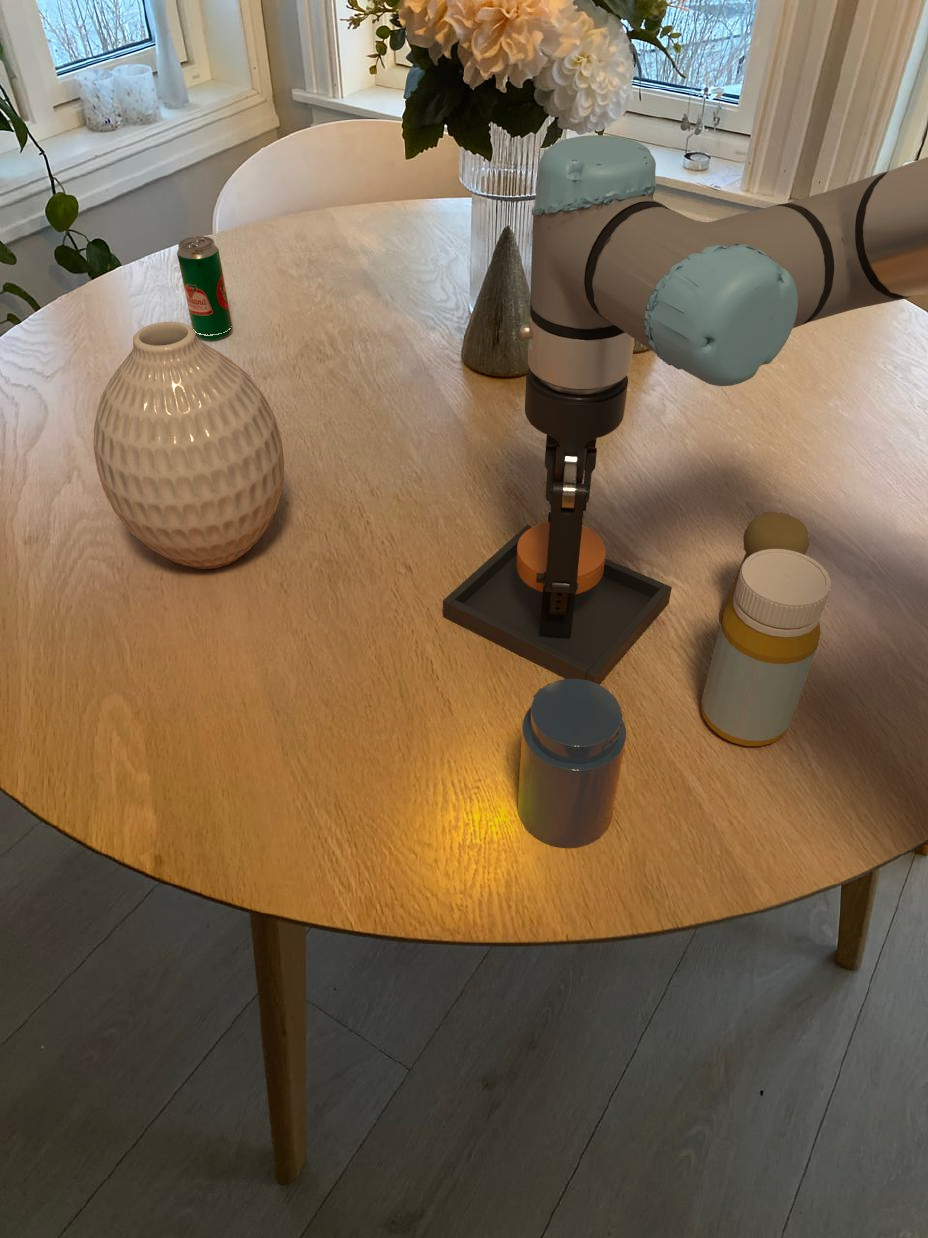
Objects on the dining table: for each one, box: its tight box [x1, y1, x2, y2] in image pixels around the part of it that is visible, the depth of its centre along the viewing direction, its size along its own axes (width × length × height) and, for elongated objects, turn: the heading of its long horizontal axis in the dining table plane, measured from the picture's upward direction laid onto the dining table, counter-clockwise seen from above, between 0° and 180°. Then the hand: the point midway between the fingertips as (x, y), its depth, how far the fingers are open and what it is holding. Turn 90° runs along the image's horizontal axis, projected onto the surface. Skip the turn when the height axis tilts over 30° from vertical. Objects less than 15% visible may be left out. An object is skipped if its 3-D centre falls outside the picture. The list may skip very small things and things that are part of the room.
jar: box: [517, 678, 627, 849], centre depth 67 cm, size 7×7×11 cm
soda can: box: [176, 235, 233, 342], centre depth 122 cm, size 5×5×12 cm
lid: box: [517, 521, 607, 594], centre depth 83 cm, size 8×8×2 cm
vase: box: [93, 321, 285, 570], centre depth 86 cm, size 16×16×22 cm
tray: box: [442, 524, 673, 686], centre depth 86 cm, size 16×14×2 cm
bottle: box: [700, 549, 832, 747], centre depth 72 cm, size 7×7×15 cm
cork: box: [718, 511, 810, 625], centre depth 82 cm, size 6×6×11 cm
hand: (557, 600), depth 86 cm, fingers closed on lid, 7 cm apart
